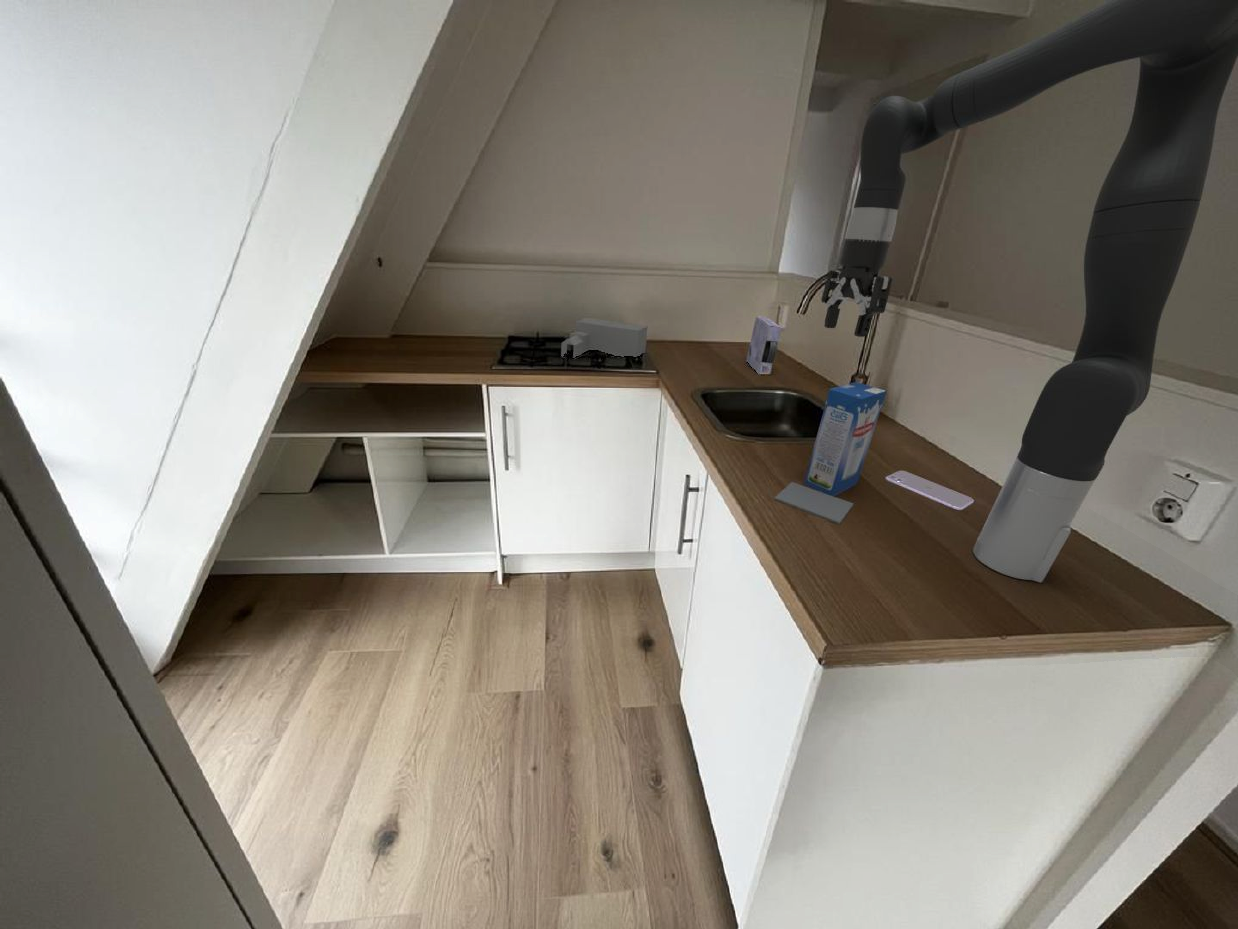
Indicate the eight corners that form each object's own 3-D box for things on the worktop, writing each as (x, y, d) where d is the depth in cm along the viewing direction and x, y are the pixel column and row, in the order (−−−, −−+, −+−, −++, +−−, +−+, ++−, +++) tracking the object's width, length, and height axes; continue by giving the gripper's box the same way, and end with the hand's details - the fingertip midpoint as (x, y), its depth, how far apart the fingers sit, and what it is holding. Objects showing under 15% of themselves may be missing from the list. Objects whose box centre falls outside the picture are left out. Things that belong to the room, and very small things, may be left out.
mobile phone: (961, 508, 93) (884, 476, 104) (959, 512, 94) (882, 480, 104) (976, 498, 98) (901, 468, 108) (974, 502, 98) (900, 472, 109)
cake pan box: (772, 377, 173) (783, 326, 165) (758, 376, 172) (768, 325, 165) (757, 363, 190) (767, 316, 182) (745, 362, 190) (753, 315, 182)
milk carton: (828, 472, 105) (855, 381, 96) (856, 483, 101) (887, 390, 92) (803, 484, 99) (829, 388, 90) (832, 497, 95) (862, 398, 86)
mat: (853, 505, 92) (853, 503, 92) (839, 524, 86) (840, 522, 86) (791, 483, 99) (791, 481, 99) (774, 499, 92) (774, 497, 92)
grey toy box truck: (560, 357, 177) (560, 326, 172) (585, 345, 197) (586, 317, 192) (625, 367, 170) (628, 336, 165) (644, 354, 190) (647, 325, 185)
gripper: (917, 240, 81) (888, 339, 88) (857, 238, 93) (836, 325, 100) (880, 237, 79) (853, 339, 86) (824, 235, 91) (804, 324, 98)
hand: (844, 331), depth 93 cm, fingers open, 8 cm apart
